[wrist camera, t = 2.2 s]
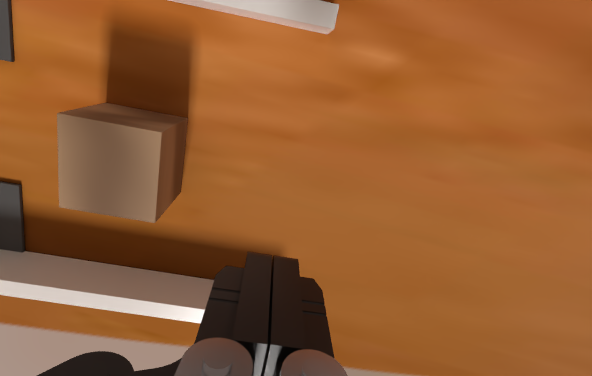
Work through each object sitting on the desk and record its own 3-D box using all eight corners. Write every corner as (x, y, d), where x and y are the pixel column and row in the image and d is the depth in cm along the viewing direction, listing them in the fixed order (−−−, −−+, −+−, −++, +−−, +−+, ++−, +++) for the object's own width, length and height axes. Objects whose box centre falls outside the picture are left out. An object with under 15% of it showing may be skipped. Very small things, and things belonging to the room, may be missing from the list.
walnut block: (188, 117, 20) (161, 132, 16) (181, 191, 22) (154, 222, 17) (106, 102, 20) (57, 113, 16) (104, 178, 21) (59, 207, 17)
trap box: (331, 13, 18) (339, 4, 16) (272, 301, 24) (270, 333, 21) (-175, -98, 16) (-271, -131, 14) (-109, 244, 22) (-166, 271, 19)
